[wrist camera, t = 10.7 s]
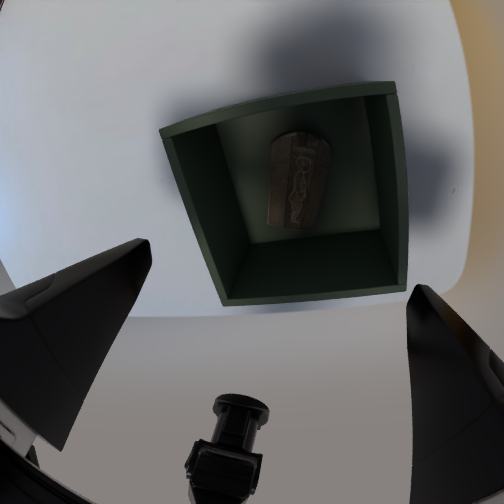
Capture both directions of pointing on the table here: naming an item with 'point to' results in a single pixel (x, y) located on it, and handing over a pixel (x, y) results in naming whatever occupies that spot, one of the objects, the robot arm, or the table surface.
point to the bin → (332, 204)
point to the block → (297, 179)
